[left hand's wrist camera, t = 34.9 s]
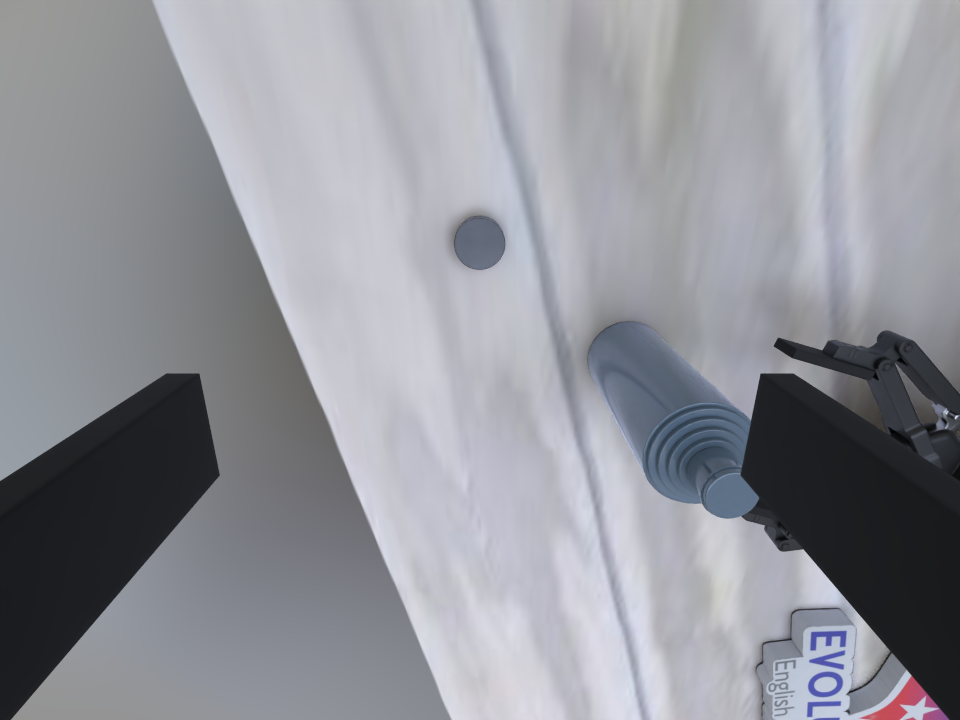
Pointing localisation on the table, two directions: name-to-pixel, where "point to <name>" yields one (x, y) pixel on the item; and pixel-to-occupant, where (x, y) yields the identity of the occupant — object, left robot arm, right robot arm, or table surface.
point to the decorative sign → (834, 677)
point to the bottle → (673, 420)
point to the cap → (479, 242)
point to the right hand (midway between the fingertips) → (744, 422)
